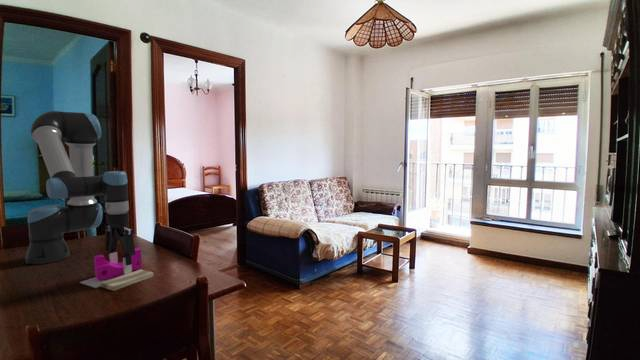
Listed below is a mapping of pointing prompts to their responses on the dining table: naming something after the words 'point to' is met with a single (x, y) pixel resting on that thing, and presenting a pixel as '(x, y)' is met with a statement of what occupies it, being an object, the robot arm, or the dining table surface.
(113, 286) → the board
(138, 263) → the toy block
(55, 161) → the robot arm
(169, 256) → the dining table surface
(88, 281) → the mat
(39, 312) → the dining table surface
